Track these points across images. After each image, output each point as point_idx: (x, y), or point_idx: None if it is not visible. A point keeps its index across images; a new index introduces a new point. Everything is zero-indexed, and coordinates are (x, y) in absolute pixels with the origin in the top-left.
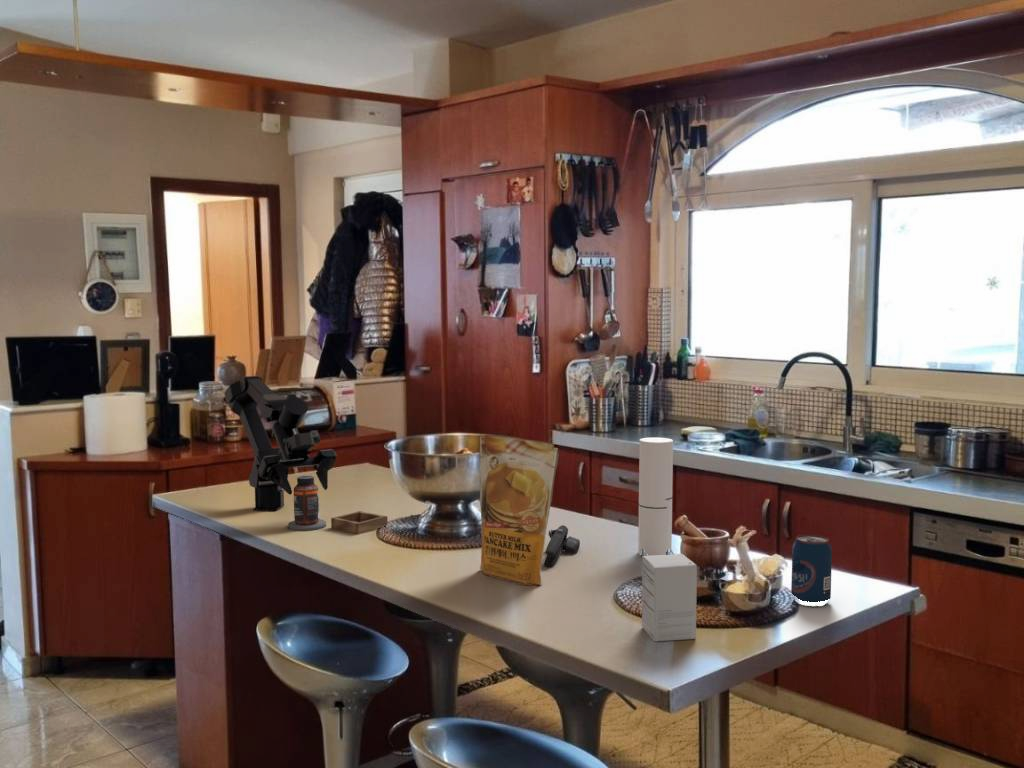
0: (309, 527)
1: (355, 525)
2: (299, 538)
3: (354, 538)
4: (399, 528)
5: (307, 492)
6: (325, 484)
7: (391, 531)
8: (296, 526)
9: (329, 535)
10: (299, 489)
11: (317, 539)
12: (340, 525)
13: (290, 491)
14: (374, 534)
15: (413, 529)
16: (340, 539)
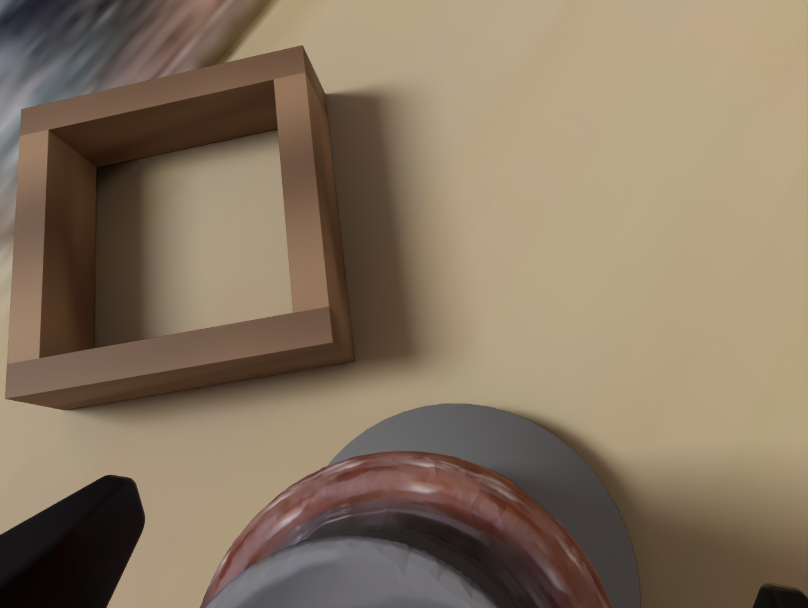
0: (525, 419)
1: (310, 86)
2: (720, 254)
3: (409, 27)
4: (62, 70)
5: (489, 472)
6: (91, 509)
7: (142, 39)
8: (604, 530)
9: (488, 189)
10: (593, 592)
11: (620, 146)
12: (333, 248)
13: (803, 597)
14: (258, 38)
15: (33, 7)
16: (492, 55)
